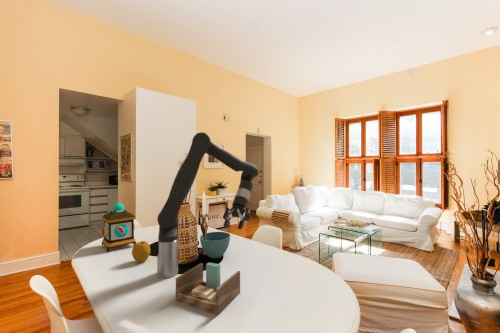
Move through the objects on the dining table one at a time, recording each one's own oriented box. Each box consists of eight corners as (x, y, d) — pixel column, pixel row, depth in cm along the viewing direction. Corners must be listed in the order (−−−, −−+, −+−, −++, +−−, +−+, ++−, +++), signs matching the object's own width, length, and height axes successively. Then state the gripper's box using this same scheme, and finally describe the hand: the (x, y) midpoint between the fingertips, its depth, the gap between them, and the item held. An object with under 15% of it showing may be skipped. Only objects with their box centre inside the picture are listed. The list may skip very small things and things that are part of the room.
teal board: (206, 293, 97) (205, 264, 97) (209, 290, 99) (209, 262, 99) (217, 296, 95) (217, 266, 95) (220, 293, 97) (220, 264, 97)
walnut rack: (175, 305, 92) (175, 278, 92) (201, 286, 106) (201, 263, 106) (218, 319, 83) (218, 289, 83) (240, 296, 97) (240, 271, 97)
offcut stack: (190, 302, 91) (190, 290, 91) (199, 295, 96) (199, 284, 96) (209, 308, 87) (208, 296, 87) (217, 300, 92) (217, 289, 92)
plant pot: (217, 264, 130) (217, 242, 130) (193, 258, 139) (193, 237, 140) (236, 254, 145) (236, 234, 145) (213, 248, 155) (213, 230, 155)
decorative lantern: (130, 240, 176) (129, 200, 176) (138, 246, 161) (138, 202, 161) (99, 246, 162) (98, 203, 162) (105, 253, 148) (105, 206, 148)
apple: (137, 266, 128) (136, 245, 128) (128, 262, 134) (128, 241, 134) (153, 260, 136) (153, 240, 136) (145, 257, 142) (144, 237, 142)
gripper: (227, 195, 123) (216, 224, 114) (249, 194, 115) (240, 225, 106) (234, 202, 128) (224, 230, 119) (256, 202, 120) (248, 232, 111)
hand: (232, 228), depth 113 cm, fingers open, 8 cm apart
